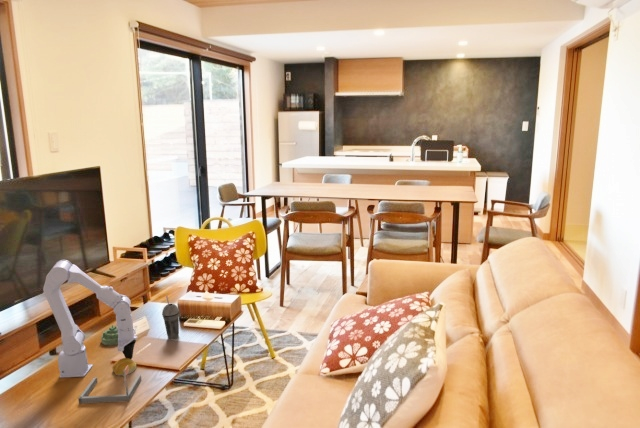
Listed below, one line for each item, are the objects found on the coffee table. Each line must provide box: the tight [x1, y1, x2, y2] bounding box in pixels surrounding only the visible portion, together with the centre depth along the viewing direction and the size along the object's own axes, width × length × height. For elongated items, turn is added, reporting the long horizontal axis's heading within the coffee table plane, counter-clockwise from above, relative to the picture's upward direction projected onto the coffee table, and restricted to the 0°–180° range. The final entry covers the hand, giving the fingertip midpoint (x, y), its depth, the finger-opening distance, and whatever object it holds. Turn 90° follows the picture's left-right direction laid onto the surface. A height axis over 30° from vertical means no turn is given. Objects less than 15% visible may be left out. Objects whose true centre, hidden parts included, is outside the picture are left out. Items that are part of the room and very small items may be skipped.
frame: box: [78, 365, 142, 405], centre depth 169 cm, size 17×13×12 cm
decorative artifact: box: [100, 325, 118, 346], centre depth 208 cm, size 10×7×10 cm
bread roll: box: [112, 357, 137, 377], centre depth 183 cm, size 8×9×4 cm
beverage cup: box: [161, 295, 180, 341], centre depth 207 cm, size 7×7×20 cm
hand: (129, 358), depth 188 cm, fingers closed
